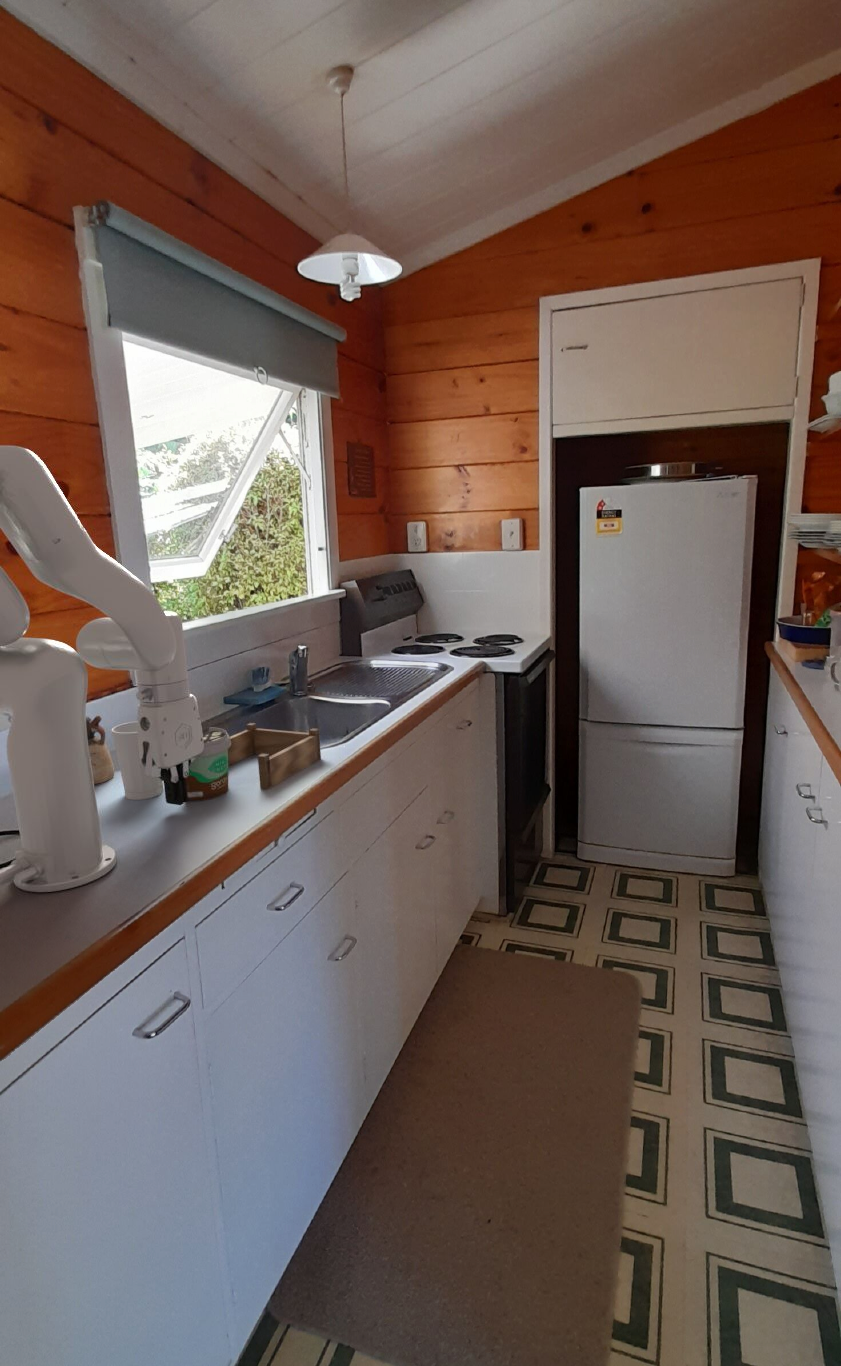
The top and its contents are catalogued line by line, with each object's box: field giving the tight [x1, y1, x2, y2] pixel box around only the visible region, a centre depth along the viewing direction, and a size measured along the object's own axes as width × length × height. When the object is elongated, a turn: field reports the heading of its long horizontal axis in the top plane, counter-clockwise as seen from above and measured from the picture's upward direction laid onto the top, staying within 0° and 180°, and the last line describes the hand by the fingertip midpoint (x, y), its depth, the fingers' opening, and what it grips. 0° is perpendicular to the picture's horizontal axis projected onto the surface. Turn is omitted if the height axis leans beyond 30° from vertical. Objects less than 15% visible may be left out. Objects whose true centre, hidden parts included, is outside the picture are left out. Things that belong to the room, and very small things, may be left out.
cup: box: [111, 720, 165, 801], centre depth 127 cm, size 8×8×12 cm
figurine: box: [86, 715, 115, 785], centre depth 136 cm, size 7×7×12 cm
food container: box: [186, 726, 231, 802], centre depth 126 cm, size 12×6×10 cm, turn 168°
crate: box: [228, 722, 322, 791], centre depth 138 cm, size 18×16×6 cm
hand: (177, 802), depth 119 cm, fingers closed
